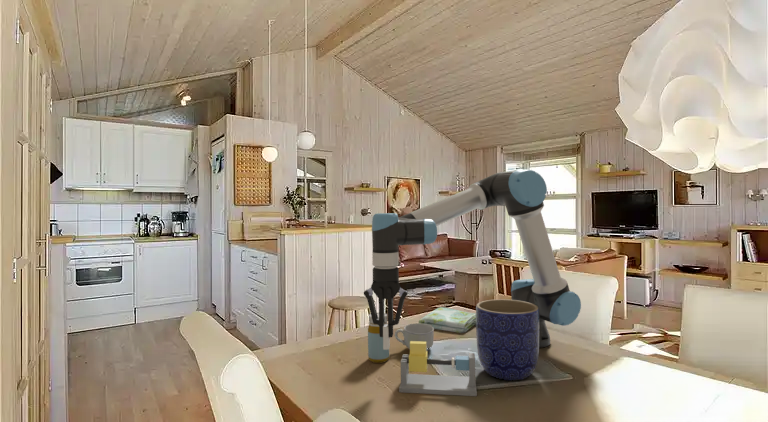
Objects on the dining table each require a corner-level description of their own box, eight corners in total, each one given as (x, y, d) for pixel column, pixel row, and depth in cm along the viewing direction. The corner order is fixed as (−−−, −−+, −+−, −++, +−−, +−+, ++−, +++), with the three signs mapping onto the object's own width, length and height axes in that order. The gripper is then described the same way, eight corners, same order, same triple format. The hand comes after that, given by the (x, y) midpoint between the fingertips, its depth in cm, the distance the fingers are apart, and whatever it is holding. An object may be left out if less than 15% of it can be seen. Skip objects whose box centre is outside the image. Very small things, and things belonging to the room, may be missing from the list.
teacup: (434, 344, 160) (433, 323, 159) (434, 355, 149) (434, 332, 149) (396, 344, 161) (395, 322, 161) (394, 354, 150) (393, 331, 150)
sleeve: (427, 366, 126) (427, 340, 126) (426, 372, 122) (426, 345, 122) (410, 365, 127) (410, 339, 127) (409, 371, 123) (408, 344, 123)
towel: (465, 335, 172) (465, 322, 172) (417, 327, 183) (417, 315, 183) (481, 323, 187) (481, 311, 187) (436, 317, 199) (436, 306, 199)
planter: (496, 357, 145) (496, 296, 145) (550, 372, 132) (549, 305, 132) (464, 373, 132) (463, 306, 132) (520, 392, 119) (519, 317, 119)
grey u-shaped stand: (475, 381, 127) (474, 349, 127) (476, 396, 117) (476, 362, 117) (403, 377, 130) (403, 347, 130) (399, 392, 120) (398, 359, 120)
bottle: (367, 356, 149) (367, 312, 149) (388, 355, 150) (387, 311, 149) (368, 363, 142) (368, 318, 142) (390, 362, 143) (389, 317, 142)
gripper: (409, 265, 128) (410, 344, 128) (366, 264, 130) (367, 343, 131) (406, 269, 121) (407, 353, 121) (360, 268, 123) (361, 351, 123)
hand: (386, 348), depth 126 cm, fingers closed
